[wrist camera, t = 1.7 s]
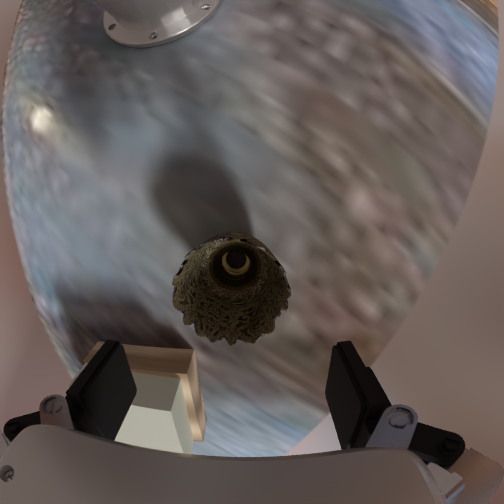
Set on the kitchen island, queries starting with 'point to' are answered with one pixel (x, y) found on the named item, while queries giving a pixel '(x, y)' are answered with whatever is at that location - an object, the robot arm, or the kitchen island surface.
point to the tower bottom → (169, 365)
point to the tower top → (156, 415)
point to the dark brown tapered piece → (231, 289)
